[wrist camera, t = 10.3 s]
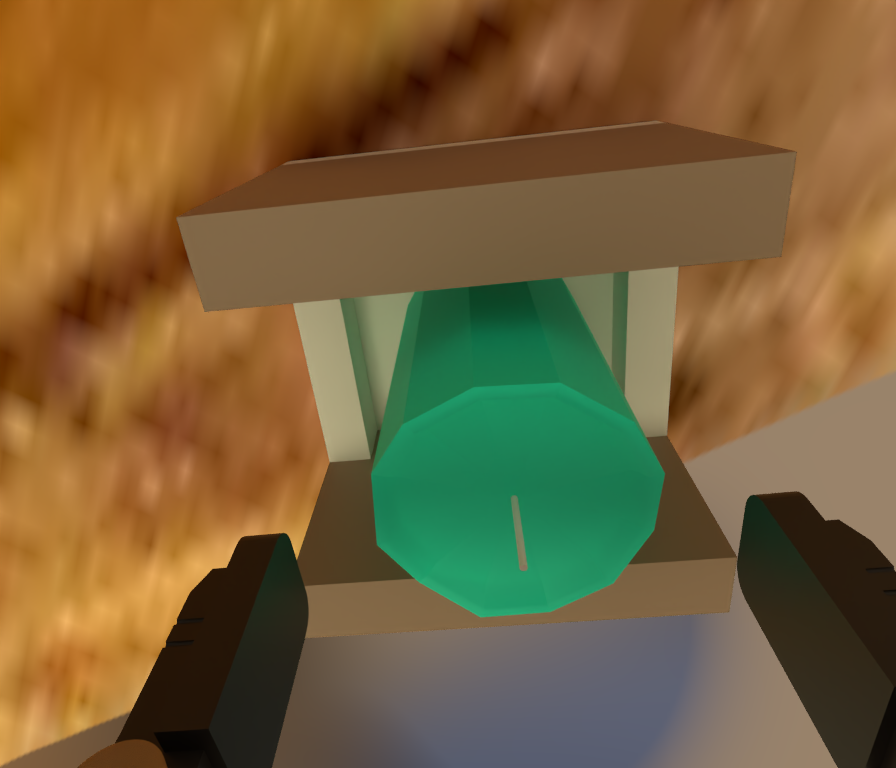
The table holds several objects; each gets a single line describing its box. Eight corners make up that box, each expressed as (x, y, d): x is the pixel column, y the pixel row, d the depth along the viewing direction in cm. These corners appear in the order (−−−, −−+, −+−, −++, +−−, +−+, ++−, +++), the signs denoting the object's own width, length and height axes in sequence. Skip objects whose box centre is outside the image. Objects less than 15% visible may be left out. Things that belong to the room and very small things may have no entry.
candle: (488, 200, 20) (526, 349, 9) (611, 318, 21) (765, 561, 11) (371, 327, 22) (288, 573, 11) (492, 425, 23) (521, 720, 13)
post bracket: (289, 160, 20) (175, 217, 12) (656, 120, 19) (796, 151, 11) (352, 461, 25) (303, 638, 17) (641, 438, 25) (729, 612, 17)
